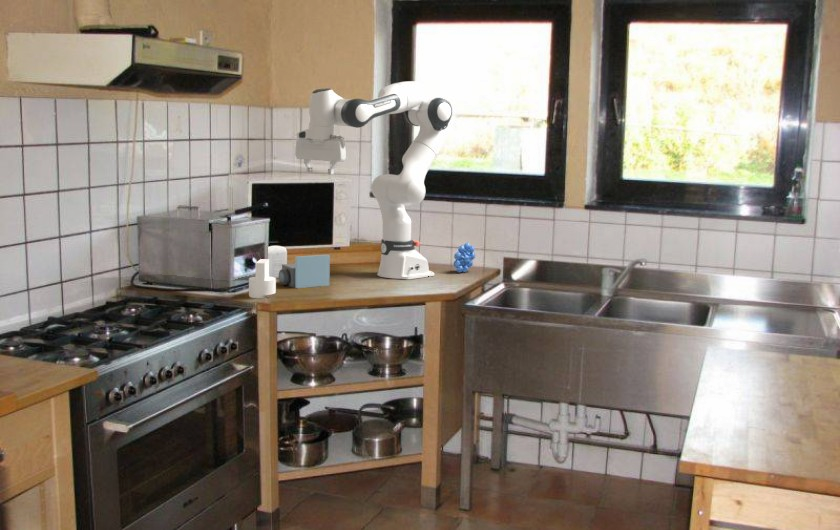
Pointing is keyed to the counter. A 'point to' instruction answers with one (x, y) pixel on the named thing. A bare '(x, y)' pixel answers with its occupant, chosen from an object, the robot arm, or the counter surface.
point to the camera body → (287, 275)
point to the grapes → (464, 258)
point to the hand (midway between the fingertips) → (320, 173)
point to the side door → (312, 271)
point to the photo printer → (276, 260)
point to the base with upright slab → (262, 281)
